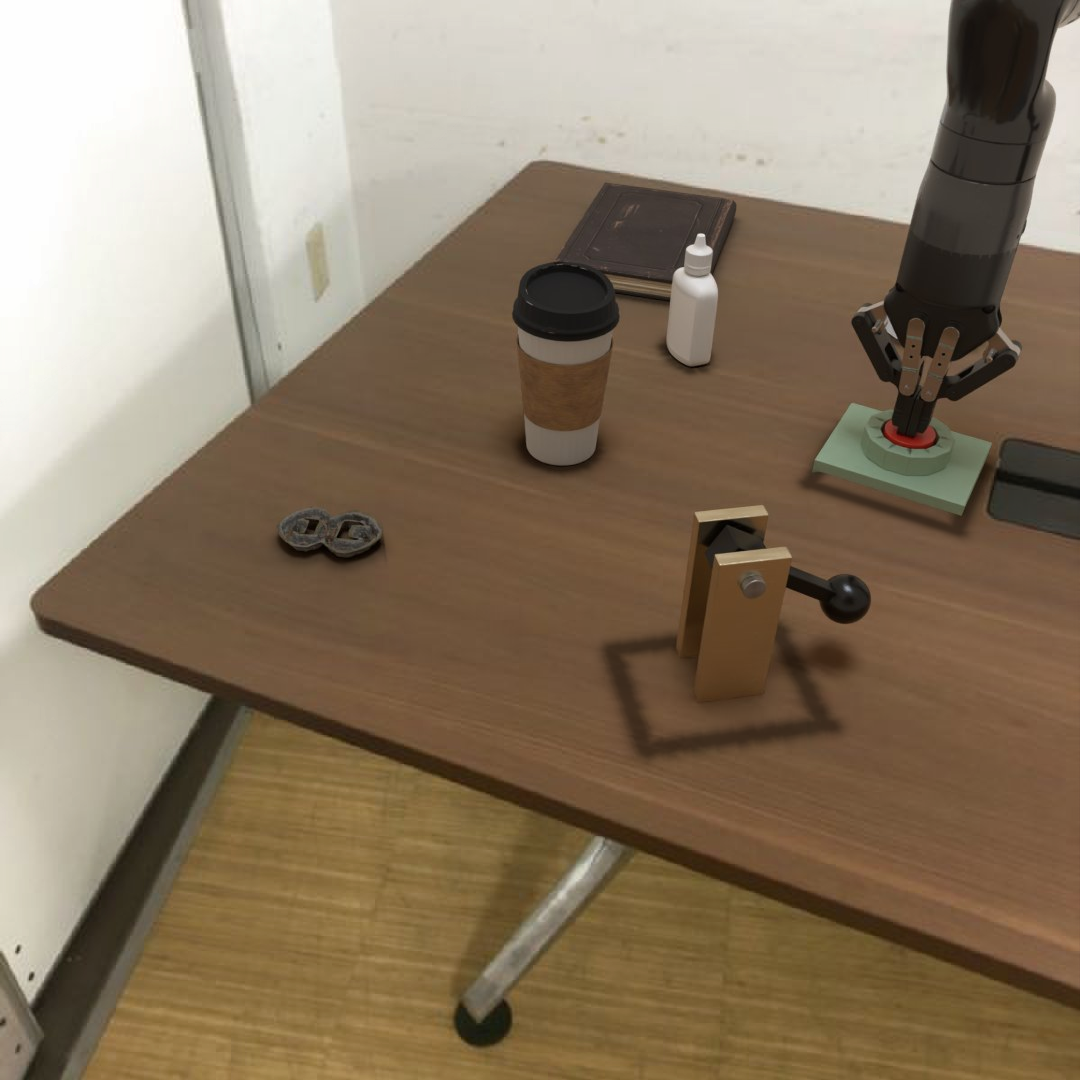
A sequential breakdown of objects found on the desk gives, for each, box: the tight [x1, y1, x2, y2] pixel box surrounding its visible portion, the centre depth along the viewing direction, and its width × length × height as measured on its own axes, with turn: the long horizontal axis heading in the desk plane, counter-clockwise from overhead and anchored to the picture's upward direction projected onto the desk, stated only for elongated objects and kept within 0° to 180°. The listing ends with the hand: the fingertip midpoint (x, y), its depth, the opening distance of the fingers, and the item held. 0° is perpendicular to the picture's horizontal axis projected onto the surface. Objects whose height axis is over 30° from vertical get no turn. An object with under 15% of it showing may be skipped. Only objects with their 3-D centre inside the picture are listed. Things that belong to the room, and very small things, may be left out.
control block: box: [811, 402, 993, 516], centre depth 92 cm, size 12×10×4 cm
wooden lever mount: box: [675, 504, 793, 703], centre depth 70 cm, size 12×9×13 cm
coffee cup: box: [511, 261, 621, 467], centre depth 90 cm, size 8×8×15 cm
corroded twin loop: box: [276, 506, 383, 559], centre depth 84 cm, size 5×8×1 cm, turn 82°
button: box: [883, 420, 936, 449], centre depth 91 cm, size 4×4×2 cm
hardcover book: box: [553, 182, 737, 302], centre depth 125 cm, size 16×23×2 cm
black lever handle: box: [704, 525, 872, 625], centre depth 69 cm, size 12×3×3 cm
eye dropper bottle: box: [665, 234, 719, 367], centre depth 104 cm, size 4×6×12 cm
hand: (908, 431), depth 90 cm, fingers closed
